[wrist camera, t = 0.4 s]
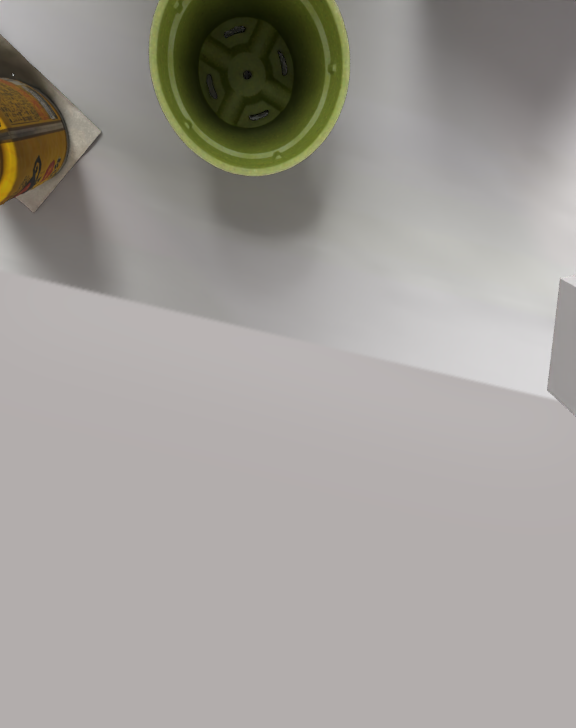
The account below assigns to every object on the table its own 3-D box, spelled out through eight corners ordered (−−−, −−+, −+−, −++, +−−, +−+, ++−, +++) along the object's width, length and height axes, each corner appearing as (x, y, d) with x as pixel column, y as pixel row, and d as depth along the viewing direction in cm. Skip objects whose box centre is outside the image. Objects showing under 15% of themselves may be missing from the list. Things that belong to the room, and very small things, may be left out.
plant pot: (205, 177, 33) (199, 202, 25) (141, 15, 28) (110, -14, 20) (335, 128, 32) (369, 139, 25) (292, -45, 27) (318, -98, 20)
